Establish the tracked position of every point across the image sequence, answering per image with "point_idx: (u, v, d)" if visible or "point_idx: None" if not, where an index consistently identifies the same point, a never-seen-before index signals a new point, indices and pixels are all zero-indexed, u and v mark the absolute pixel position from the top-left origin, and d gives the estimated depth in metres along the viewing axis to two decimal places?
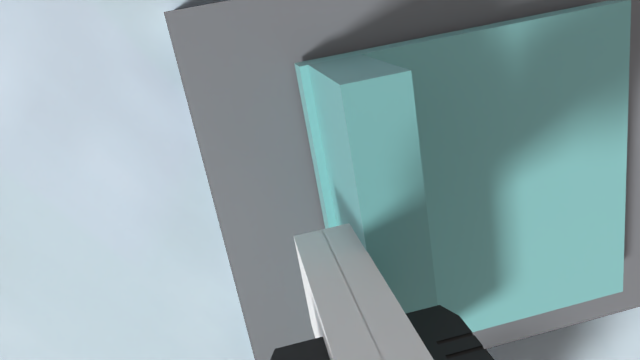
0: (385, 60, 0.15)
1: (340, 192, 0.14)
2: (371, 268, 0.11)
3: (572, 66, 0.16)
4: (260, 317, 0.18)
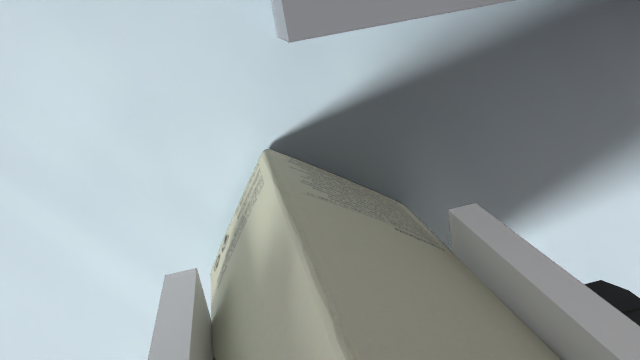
0: None
1: None
2: (524, 244, 0.11)
3: None
4: None
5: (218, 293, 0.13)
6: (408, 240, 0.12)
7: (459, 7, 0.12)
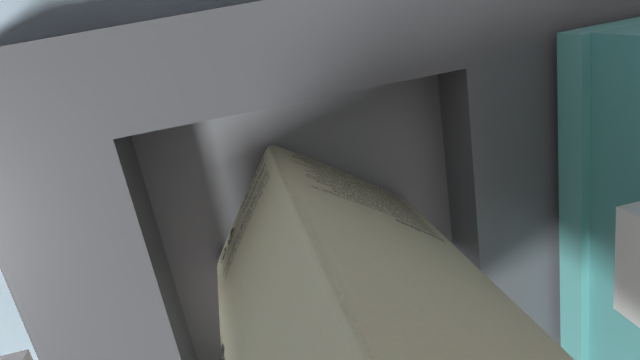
0: None
1: None
2: None
3: None
4: None
5: (225, 283, 0.14)
6: (409, 230, 0.12)
7: None
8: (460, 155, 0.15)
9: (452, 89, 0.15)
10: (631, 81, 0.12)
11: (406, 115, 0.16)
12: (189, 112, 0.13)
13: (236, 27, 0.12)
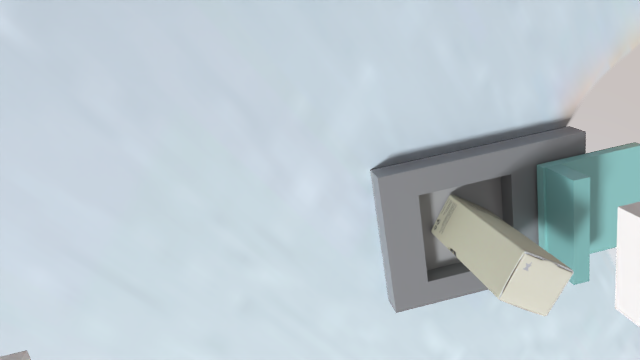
0: (567, 165, 0.47)
1: (557, 205, 0.46)
2: None
3: (623, 165, 0.48)
4: (396, 276, 0.49)
5: (443, 235, 0.48)
6: (497, 219, 0.47)
7: (435, 302, 0.51)
8: (507, 197, 0.50)
9: (506, 178, 0.49)
10: (554, 182, 0.46)
11: (490, 184, 0.50)
12: (438, 188, 0.47)
13: (452, 166, 0.47)
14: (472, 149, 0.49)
